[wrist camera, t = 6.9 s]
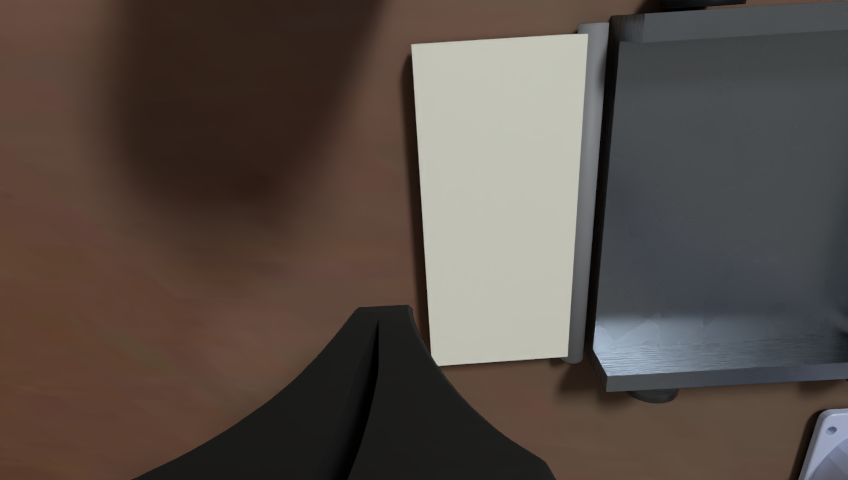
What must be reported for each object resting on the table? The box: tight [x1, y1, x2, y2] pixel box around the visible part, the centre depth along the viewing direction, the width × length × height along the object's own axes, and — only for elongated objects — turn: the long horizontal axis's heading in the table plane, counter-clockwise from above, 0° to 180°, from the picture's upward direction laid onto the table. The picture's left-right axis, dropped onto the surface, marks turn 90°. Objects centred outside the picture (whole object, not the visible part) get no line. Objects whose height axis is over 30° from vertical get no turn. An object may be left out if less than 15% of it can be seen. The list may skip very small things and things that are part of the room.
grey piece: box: [585, 0, 848, 403], centre depth 18 cm, size 16×16×4 cm
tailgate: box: [411, 22, 609, 366], centre depth 20 cm, size 14×1×7 cm
